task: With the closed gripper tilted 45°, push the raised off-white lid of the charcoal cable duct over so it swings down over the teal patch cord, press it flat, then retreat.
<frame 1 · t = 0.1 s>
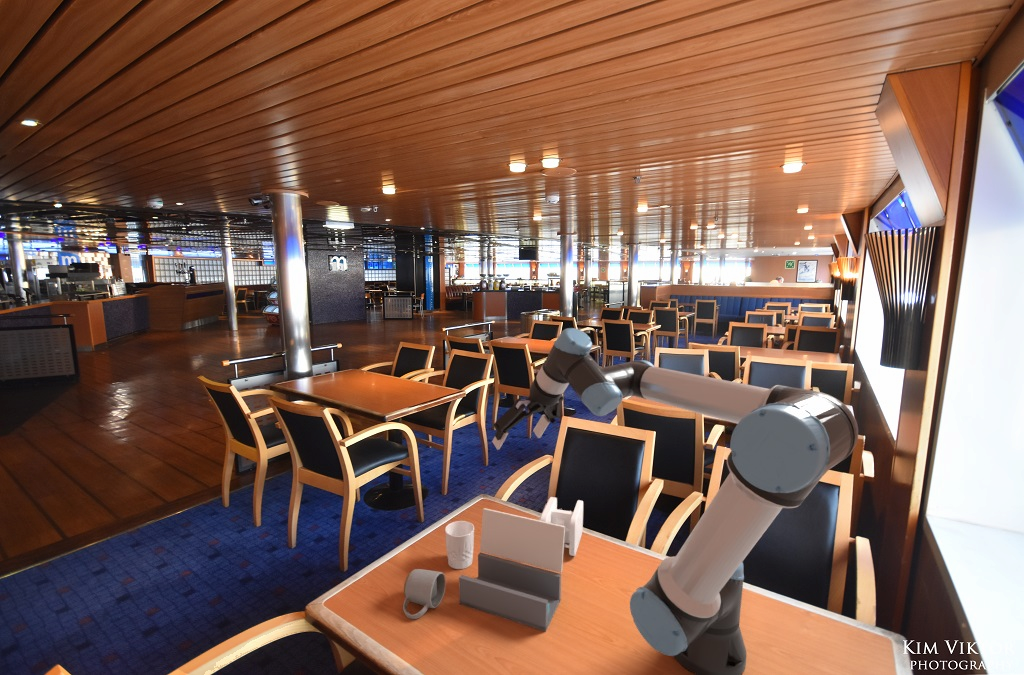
hand: (516, 439, 124), 36 cm above the table, tool tilted 35°, fingers open, 13 cm apart
ceramic mug: (423, 605, 114), on the table
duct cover: (521, 539, 119), point 13 cm above the table, hinge at 100.0°
white cup: (460, 562, 131), on the table
cable duct: (510, 602, 115), on the table
cable organizer: (561, 545, 139), on the table
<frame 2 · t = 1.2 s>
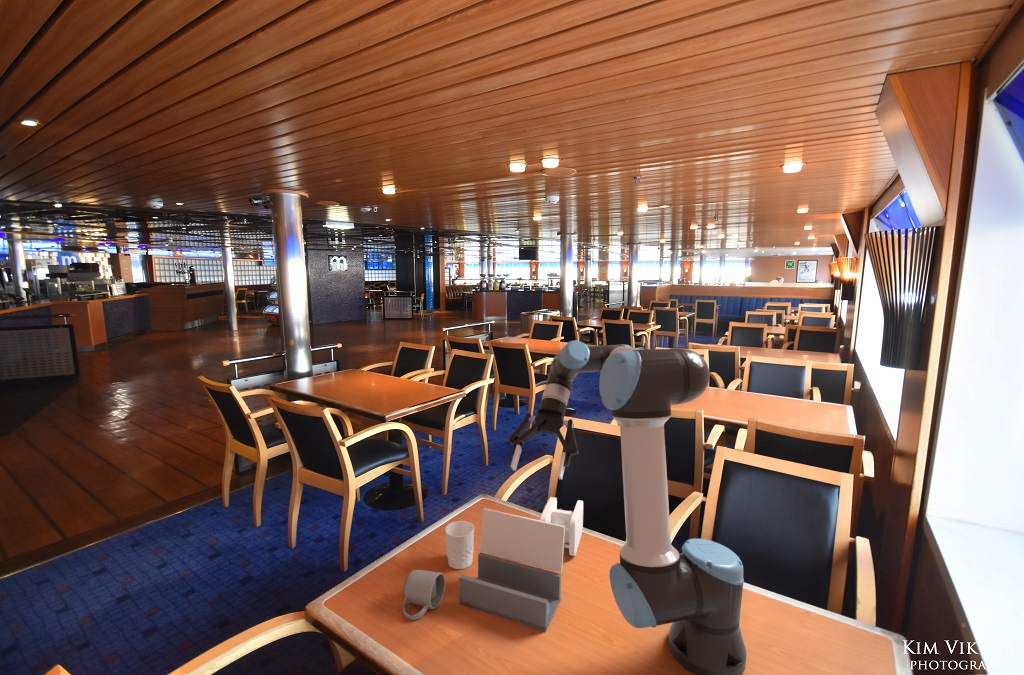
hand: (535, 473, 126), 26 cm above the table, tool tilted 45°, fingers open, 12 cm apart
nothing on the table moved.
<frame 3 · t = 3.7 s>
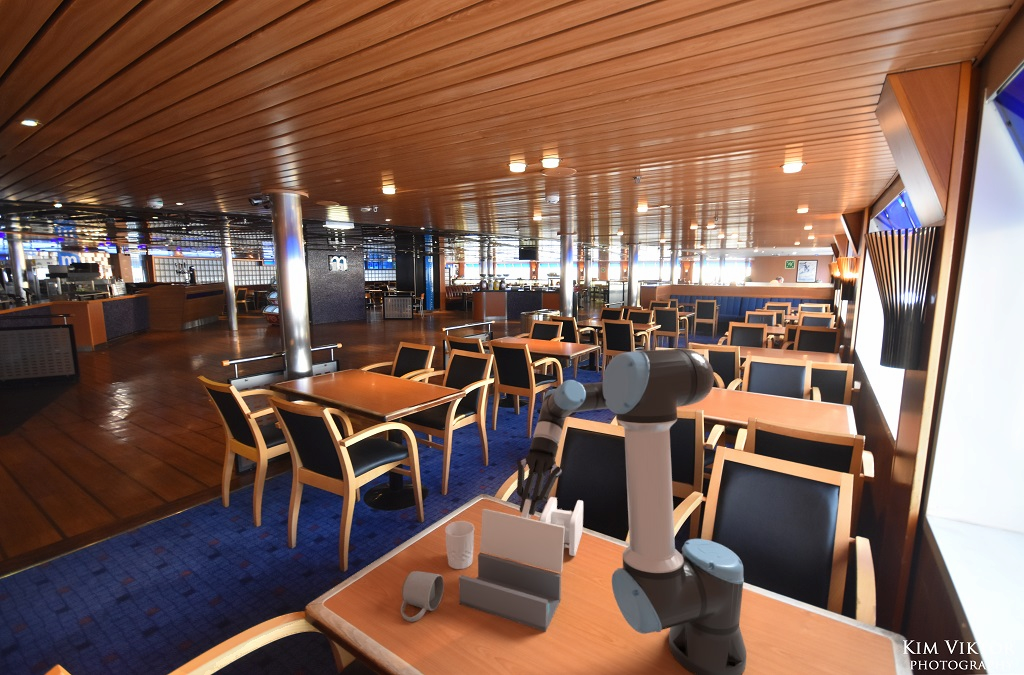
hand: (523, 526, 121), 15 cm above the table, tool tilted 45°, fingers closed
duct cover: (521, 539, 119), point 13 cm above the table, hinge at 98.1°, touching gripper
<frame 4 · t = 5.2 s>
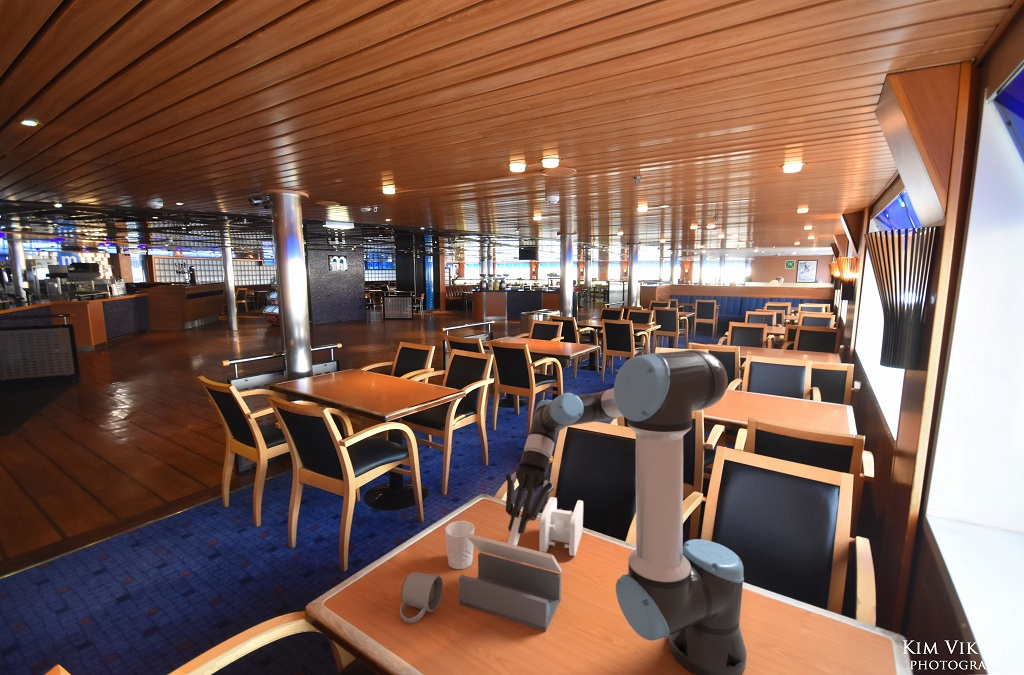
hand: (511, 546, 114), 14 cm above the table, tool tilted 45°, fingers closed
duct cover: (513, 552, 115), point 12 cm above the table, hinge at 48.5°, touching gripper
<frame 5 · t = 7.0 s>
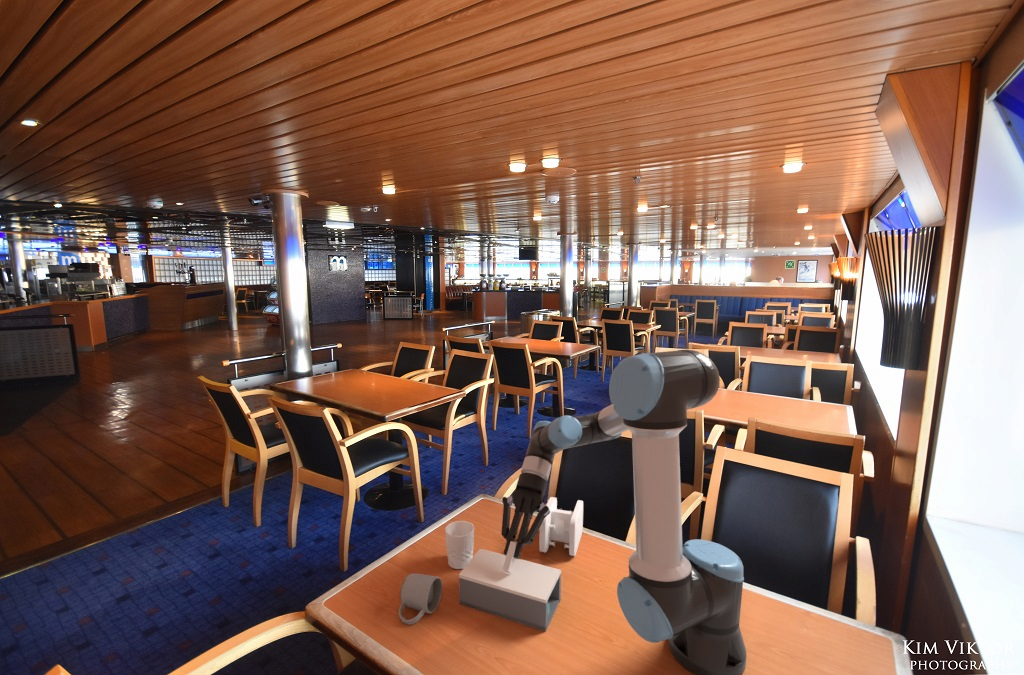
hand: (506, 571, 112), 9 cm above the table, tool tilted 45°, fingers closed
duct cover: (510, 573, 114), point 8 cm above the table, hinge at -1.6°, touching cable duct, gripper
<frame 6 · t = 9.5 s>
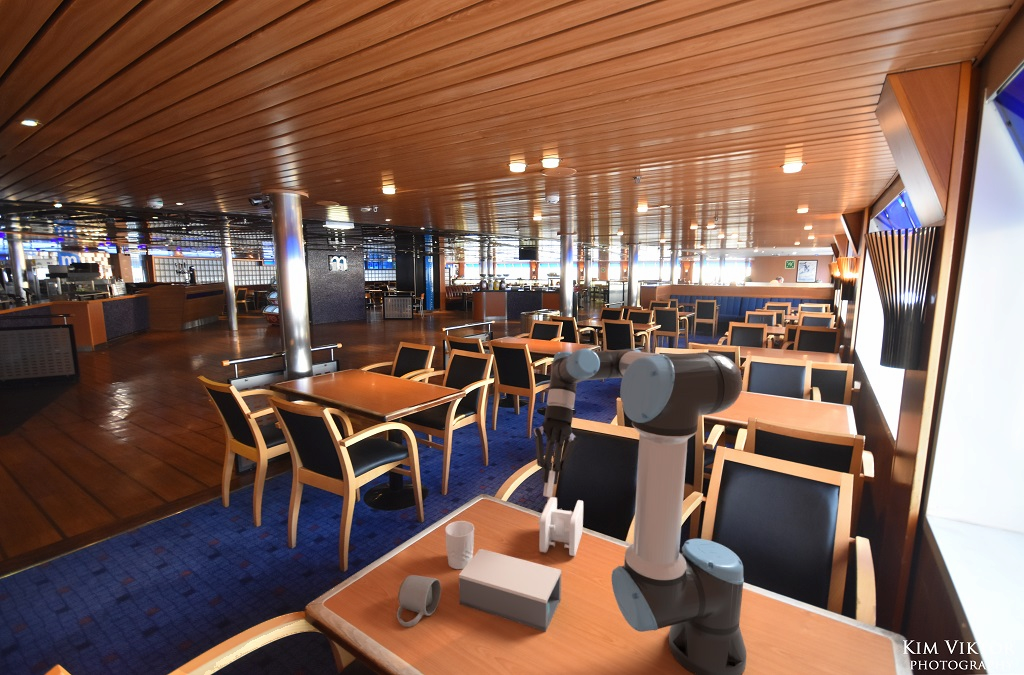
hand: (547, 496, 123), 21 cm above the table, tool tilted 30°, fingers closed
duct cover: (510, 573, 114), point 8 cm above the table, hinge at -1.6°, touching cable duct
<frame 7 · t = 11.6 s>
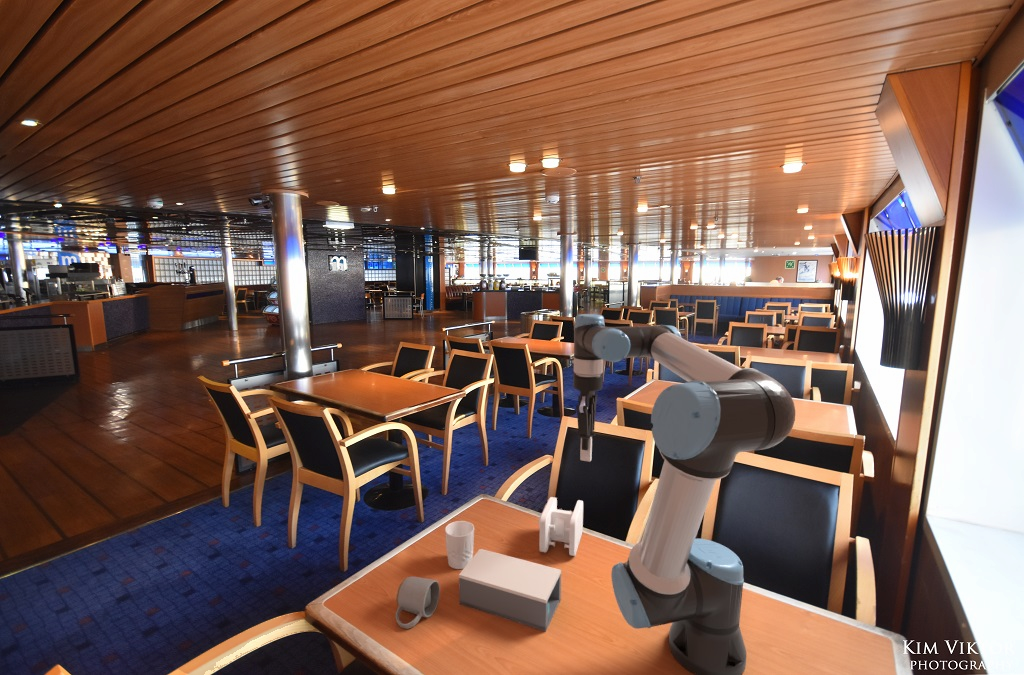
hand: (585, 459, 127), 29 cm above the table, tool pointing down, fingers closed
at the end: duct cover at -2° (first picture: +100°) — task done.
